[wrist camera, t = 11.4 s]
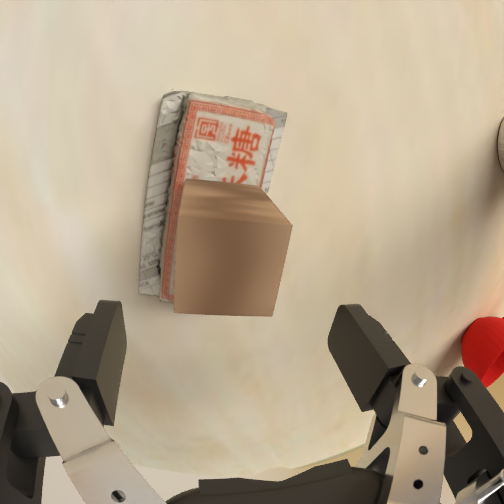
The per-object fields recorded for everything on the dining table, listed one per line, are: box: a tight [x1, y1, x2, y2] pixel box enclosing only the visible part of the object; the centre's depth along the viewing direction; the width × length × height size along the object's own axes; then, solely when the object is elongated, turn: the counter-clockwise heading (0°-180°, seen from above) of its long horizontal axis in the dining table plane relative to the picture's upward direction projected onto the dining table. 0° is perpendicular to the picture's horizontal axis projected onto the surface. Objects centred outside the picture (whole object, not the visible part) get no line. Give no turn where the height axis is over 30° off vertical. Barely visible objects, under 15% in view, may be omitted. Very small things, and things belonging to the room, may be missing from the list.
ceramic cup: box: [461, 317, 504, 387], centre depth 39 cm, size 13×17×10 cm
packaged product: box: [139, 89, 287, 303], centre depth 23 cm, size 18×5×10 cm
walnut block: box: [174, 178, 293, 316], centre depth 17 cm, size 5×5×8 cm
